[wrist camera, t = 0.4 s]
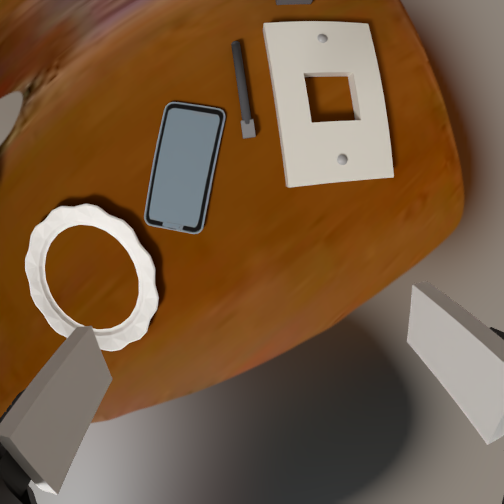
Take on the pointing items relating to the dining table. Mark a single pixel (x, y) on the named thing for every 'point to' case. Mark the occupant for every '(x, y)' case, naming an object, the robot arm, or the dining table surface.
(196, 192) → the smartphone
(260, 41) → the dining table surface
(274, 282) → the dining table surface
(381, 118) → the outlet plate
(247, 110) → the cable
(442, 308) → the robot arm
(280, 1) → the block
